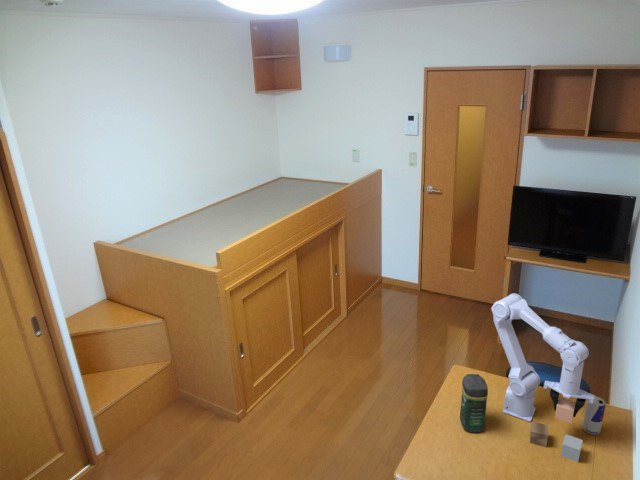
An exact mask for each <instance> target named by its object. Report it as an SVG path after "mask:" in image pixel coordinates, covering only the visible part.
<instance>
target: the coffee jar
mask: <svg viewBox="0 0 640 480" xmlns="http://www.w3.org/2000/svg"><path fill="white" fill-rule="evenodd" d="M488 392H489V387H488V384H487V382H486V380H485V378H483V376H481V375H480V374H478V373H477V374H476V373H470V374H469V373H467V374H465V376H463V378H462V383H461V402H460V411H459V419H460V420H459V421H460V423H461V426H462V428H463V429H464V431H467V432H470V433H481V432H482V431H484V430H485V426H486V412H487V404H488V403H487V402H488V401H487V400H488V394H489V393H488Z"/></svg>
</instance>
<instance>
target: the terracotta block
mask: <svg viewBox="0 0 640 480" xmlns="http://www.w3.org/2000/svg"><path fill="white" fill-rule="evenodd" d="M575 404H576V400H575V401H574V400H570V399H568V398H565V397H563V396H559V399H558V403H557V407H556V411H555V414H554V415H555V416H554V419H557V420H560V421H563V422H566V423H569V424H572V423H573V420H574V417H573V414H574V410H575Z"/></svg>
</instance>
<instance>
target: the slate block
mask: <svg viewBox="0 0 640 480" xmlns="http://www.w3.org/2000/svg"><path fill="white" fill-rule="evenodd" d="M582 447H583V439H581V438H577V437H575V436H573V435H570V434H565V435H564V439H563V442H562V448H561V452H560V457H562V458H565V459H567V460H570V461H573V462H576V463H579V460H580V455H581V453H582V452H581V451H582Z"/></svg>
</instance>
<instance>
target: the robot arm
mask: <svg viewBox="0 0 640 480" xmlns="http://www.w3.org/2000/svg"><path fill="white" fill-rule="evenodd" d="M490 310H491V312H492V316H493V317H492V318H493V319H492V320H493V323H494V326H495V328H496V331H497V334H498V337H499V339H500V342H501V345H502V348H503V350H504V353H505V355H506V358H507V360H508V364H509V366H510V371H509V372H508V373H509V374H508V379H509V385H508V386H507V388H506V391H505V396H504V401H503V402H504V403H503V404H504V405H503V410H502V412H503V413H504V414H507V415H509V416H512V417H516V418H519V419H521V420H523V421H527V422H532V420H533V418H534V415H535V411H536V410H537V409H536V407H535V406H534V404H535V397H536V389H537V387H539V386H540V384H541V378H540V376H539V374H538V373H537V372H536V371H535V368H534V367H533V366H532V365H531V364H528V363H527V361H526V358H525V355H524V353H523V350H522V347H521V344H520V341H519V339H518V337H517V334H516V331H515V329H514V326H513V324H512V321H513V320H523V321H524V322H525V323H527V324H528V325H530V326H531V327H532V328H534V329H535V330H536V331H537V332H539V333H540V334H541V335H542V339H543V341H544V342H546V343H547V344H548V345H549V346H550V347H551V348H553V349H554V350H555V351H556V352H557V353H559V354H560V358H561V361H562V366H561V367H562V368H561V372H560V380H559V381H557V382H555V381H550V380H544V383H543V389H545V390H547V389H549V390H550V392H549V396H550V398H551V401H552V404H553V411H555V412H556V407H557V403H558V400H559V397H560V395H562V398H565V399H568V400H570V399H571V398H573V399H574V398H575V399H576V400H575V402H576V404H575V410H574V414H573V418H576V416H577V414H578V412H579V411H580V410H581V409H582V408H583V407H585V404H586V402H587V401H589V402H590V403H593V401H594V396H596V395H595V394H592V393H589V392H588V391H586V390H584V389H581V381H582V377H583V376H582V375H583V369H584V364H585V360H586V359H587V358H588V357H589V354H590V353H589V348H588V347H587V346H586V345H585V343H583V342H581V341H577V340H575V339H572V338H570V337H569V336H568V335H567V334H565V332H563V330H562V329H561V328H558V327H557V326H550V325H549V324H548V323H547V322H545V320H544V319H542V318H541V317H540V316H539V315H538V314H537V313H536V312H535V311H534V310H532V308H531V307H530V306H529V305H528V302H527V300H526V299H525V298H523V297H522V296H521V295H520V294H518V293H515V292H514V293H509V295H507V296H506V297H504V298H502V299H500V300H497V301H495V302H494V303H493V305H492V306H491V308H490Z"/></svg>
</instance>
